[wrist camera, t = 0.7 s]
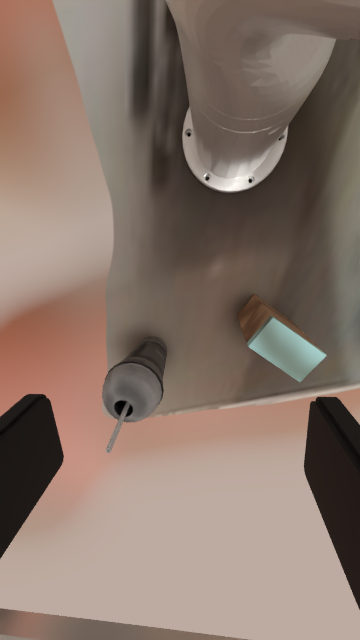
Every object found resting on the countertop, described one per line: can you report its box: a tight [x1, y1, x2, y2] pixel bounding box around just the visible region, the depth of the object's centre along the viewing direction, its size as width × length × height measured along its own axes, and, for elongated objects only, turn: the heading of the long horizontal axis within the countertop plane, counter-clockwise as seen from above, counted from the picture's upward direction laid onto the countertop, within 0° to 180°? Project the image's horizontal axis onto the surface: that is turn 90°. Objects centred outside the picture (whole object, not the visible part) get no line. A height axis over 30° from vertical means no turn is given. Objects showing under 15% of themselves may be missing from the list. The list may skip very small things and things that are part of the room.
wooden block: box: [237, 295, 326, 382], centre depth 33 cm, size 4×7×12 cm, turn 56°
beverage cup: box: [102, 337, 167, 453], centre depth 33 cm, size 7×7×20 cm
